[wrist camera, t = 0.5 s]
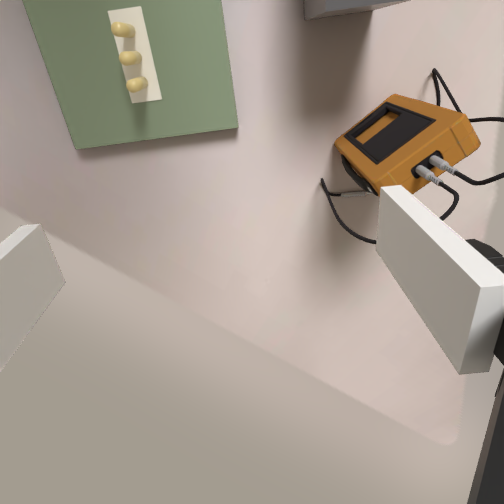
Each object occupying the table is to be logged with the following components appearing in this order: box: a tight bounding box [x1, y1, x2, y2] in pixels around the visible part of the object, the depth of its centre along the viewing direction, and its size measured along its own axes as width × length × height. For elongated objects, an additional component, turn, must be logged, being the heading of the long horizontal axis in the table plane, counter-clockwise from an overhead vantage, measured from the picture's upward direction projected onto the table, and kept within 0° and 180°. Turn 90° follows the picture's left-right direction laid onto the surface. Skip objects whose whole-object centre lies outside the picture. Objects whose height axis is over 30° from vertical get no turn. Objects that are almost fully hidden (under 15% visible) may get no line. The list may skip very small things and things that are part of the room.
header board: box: [22, 0, 238, 150], centre depth 31 cm, size 14×16×5 cm
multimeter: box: [321, 68, 504, 244], centre depth 30 cm, size 15×10×20 cm
